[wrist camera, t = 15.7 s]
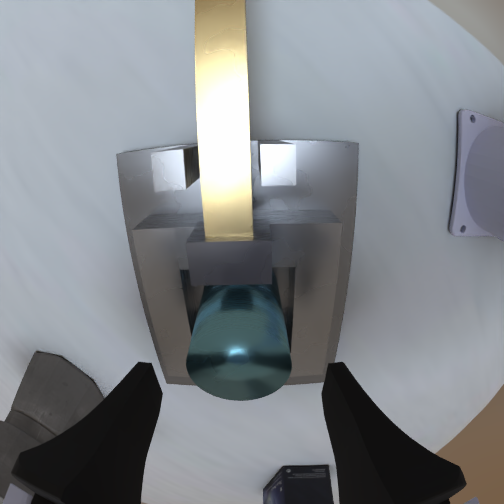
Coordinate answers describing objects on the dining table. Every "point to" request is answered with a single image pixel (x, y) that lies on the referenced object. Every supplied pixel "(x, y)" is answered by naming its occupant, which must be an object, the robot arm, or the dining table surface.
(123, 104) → the dining table surface
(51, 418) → the coffeepot
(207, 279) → the pin
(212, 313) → the teal glass cylinder
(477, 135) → the robot arm
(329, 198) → the dock
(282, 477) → the small box
